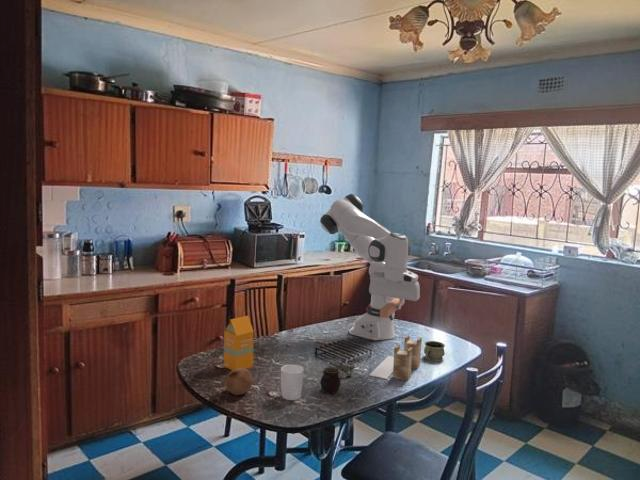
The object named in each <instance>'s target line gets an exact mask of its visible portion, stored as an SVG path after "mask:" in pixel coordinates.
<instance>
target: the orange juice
mask: <svg viewBox="0 0 640 480" xmlns="http://www.w3.org/2000/svg"><path fill="white" fill-rule="evenodd" d="M251 322H252V321H251V320H250V318H249V315H244V316H239V317H236V318H232V319H230V320H229V322H228V324H227V326H226V327H225V329H224V333H223V334H224V335H223V336H224V337H223V345H224V346H223V367H224V368H225V369H229V370H231V371H233V370H234V369H237V368H240V367H241V368H245V369H249V368H251V367H253V366H254V352H255V351H254V347H255V346H254V339H255V337H254V336H255V335H254V334H255V330H254V329H253V328H254V327H253V325H252V323H251ZM224 363H225V364H227V365H229V366H227V365H225V364H224ZM247 365H248V366H247ZM232 367H233V368H232Z"/></svg>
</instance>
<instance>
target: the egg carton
mask: <svg viewBox="0 0 640 480" xmlns="http://www.w3.org/2000/svg"><path fill="white" fill-rule="evenodd" d="M326 363H327V364H328V367H334V368H338V367H339V366H340V365H341V364H342V366H341V367H340V368H339V369H338V370H339V374H338V376H339V379H341V378H342V379H346V378H347V377H354V371H355V368H356V366H355V365H353V364H347V363H345V362H342V361H341V360H335V361H334V360H333V361H327V362H326Z"/></svg>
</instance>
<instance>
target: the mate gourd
mask: <svg viewBox="0 0 640 480" xmlns="http://www.w3.org/2000/svg"><path fill="white" fill-rule="evenodd" d="M341 366H342V364H341V365H340V366H339V367H338V368H334V367H329V366H327V367H325V368H323V369H322V370H323V373H322V374H323V375H322V376H321V378H320V381H319V383H320V388H321V390H322V391H323V392H324V393H326V394H335V393H337V392H338V391H339V389H340V387H341V378H339V376H338V374H339V370H338V369H339V368H340V367H341Z"/></svg>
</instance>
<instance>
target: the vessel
mask: <svg viewBox="0 0 640 480" xmlns="http://www.w3.org/2000/svg"><path fill="white" fill-rule="evenodd" d="M424 345H425V347H424V349H423V353H424V354H425V356H424V358H425V359H426V360H428V361H432V362H442V361H443V358H444V356H445V354H446V352H445V347H446V345H445V344H444V343H443V342H440V341H437V340H429V341H427V340H426V341H425V342H424Z"/></svg>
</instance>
